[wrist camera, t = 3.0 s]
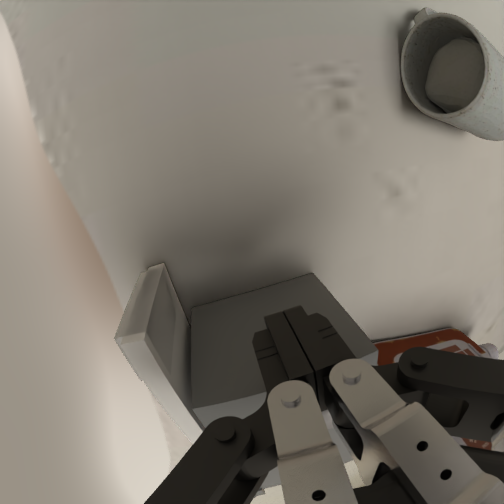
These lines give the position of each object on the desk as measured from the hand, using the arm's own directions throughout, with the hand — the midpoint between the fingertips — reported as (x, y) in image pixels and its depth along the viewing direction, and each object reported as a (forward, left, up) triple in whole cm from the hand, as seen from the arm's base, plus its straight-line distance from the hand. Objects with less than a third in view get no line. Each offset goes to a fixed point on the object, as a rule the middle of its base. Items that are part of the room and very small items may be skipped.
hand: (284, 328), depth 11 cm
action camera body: (+8, -1, -6) cm, 11 cm away
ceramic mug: (-11, +17, -7) cm, 21 cm away
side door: (+7, -6, -6) cm, 11 cm away
